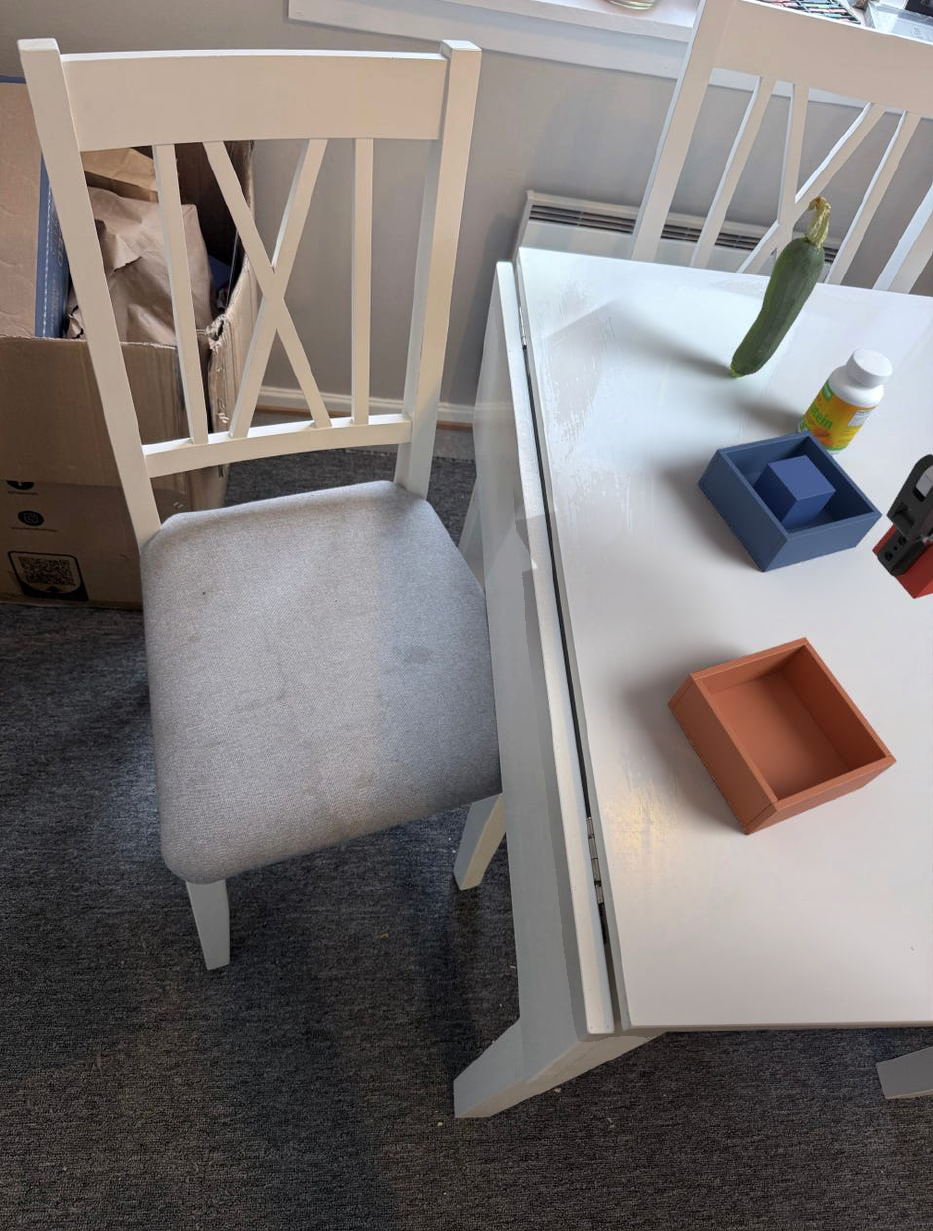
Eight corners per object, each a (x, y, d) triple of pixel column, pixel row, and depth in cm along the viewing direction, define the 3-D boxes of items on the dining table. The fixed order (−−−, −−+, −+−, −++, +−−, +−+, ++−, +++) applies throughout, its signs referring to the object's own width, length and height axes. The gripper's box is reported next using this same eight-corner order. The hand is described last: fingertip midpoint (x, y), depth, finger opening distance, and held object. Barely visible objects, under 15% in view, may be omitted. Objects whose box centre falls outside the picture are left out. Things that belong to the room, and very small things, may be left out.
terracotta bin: (863, 787, 64) (897, 761, 60) (747, 835, 60) (777, 811, 56) (778, 666, 69) (805, 636, 65) (667, 704, 65) (689, 673, 61)
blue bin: (856, 547, 79) (883, 514, 75) (763, 572, 75) (787, 540, 71) (787, 463, 84) (809, 430, 81) (697, 483, 80) (716, 449, 77)
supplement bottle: (786, 423, 88) (834, 346, 80) (825, 416, 90) (875, 340, 82) (816, 459, 85) (869, 383, 78) (855, 451, 87) (911, 376, 80)
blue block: (810, 524, 79) (836, 490, 75) (772, 534, 77) (797, 499, 74) (782, 489, 81) (805, 454, 77) (745, 498, 79) (767, 463, 76)
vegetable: (764, 384, 92) (866, 207, 76) (744, 399, 89) (844, 221, 73) (732, 362, 93) (824, 184, 77) (711, 376, 91) (802, 196, 75)
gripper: (1063, 424, 41) (873, 624, 55) (1233, 386, 46) (1021, 577, 60) (960, 331, 45) (806, 539, 59) (1128, 305, 50) (950, 502, 64)
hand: (915, 558), depth 59 cm, fingers closed on red block, 4 cm apart
